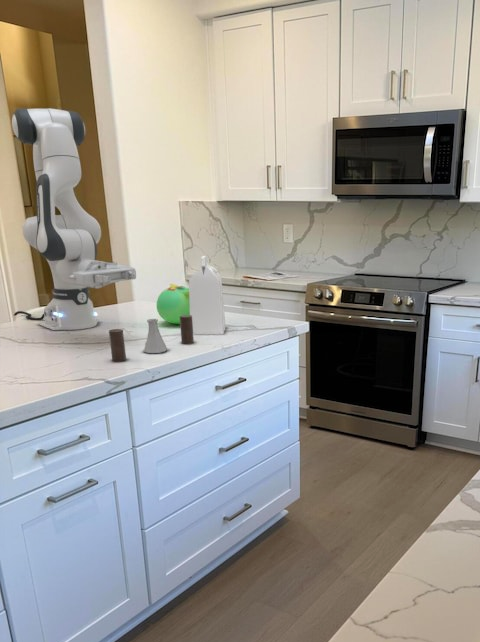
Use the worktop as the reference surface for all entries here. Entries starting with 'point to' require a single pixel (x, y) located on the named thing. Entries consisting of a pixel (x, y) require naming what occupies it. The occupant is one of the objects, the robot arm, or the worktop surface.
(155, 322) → the flask
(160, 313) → the toy bird
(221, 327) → the milk
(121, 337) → the walnut peg front
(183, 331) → the walnut peg back
